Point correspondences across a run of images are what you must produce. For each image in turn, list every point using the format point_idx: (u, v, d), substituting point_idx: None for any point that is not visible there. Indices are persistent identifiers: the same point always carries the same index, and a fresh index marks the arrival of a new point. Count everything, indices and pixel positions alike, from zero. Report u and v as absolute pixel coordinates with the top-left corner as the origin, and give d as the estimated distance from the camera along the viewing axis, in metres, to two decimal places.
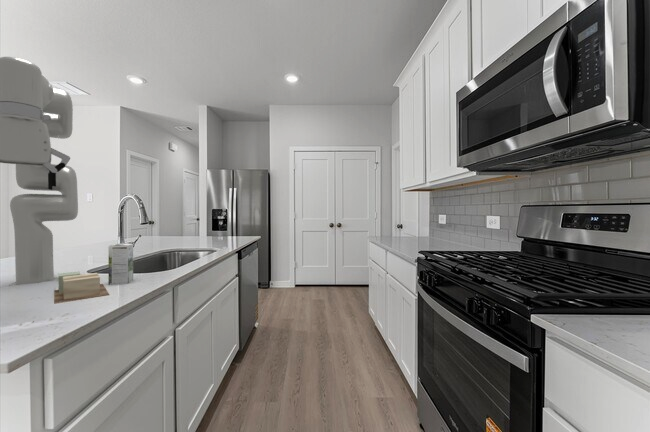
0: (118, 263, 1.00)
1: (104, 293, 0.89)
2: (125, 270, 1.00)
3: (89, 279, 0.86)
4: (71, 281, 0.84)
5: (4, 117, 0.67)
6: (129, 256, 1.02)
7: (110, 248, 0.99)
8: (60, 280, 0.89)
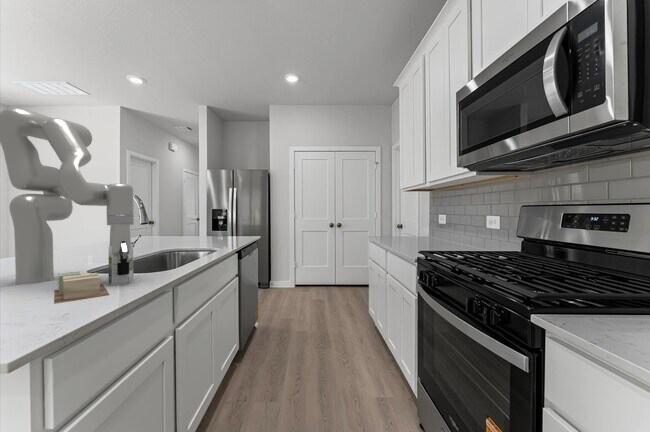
0: None
1: (104, 293, 0.89)
2: None
3: (89, 279, 0.86)
4: (71, 281, 0.84)
5: None
6: (129, 256, 1.02)
7: (110, 248, 0.99)
8: (60, 280, 0.89)
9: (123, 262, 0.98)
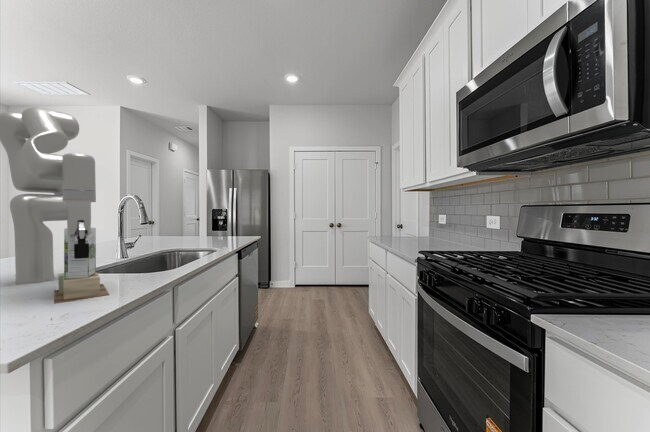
0: None
1: (104, 293, 0.89)
2: None
3: (89, 279, 0.86)
4: (71, 281, 0.84)
5: (90, 202, 0.87)
6: (90, 241, 0.88)
7: (66, 231, 0.85)
8: (60, 280, 0.89)
9: (81, 243, 0.84)
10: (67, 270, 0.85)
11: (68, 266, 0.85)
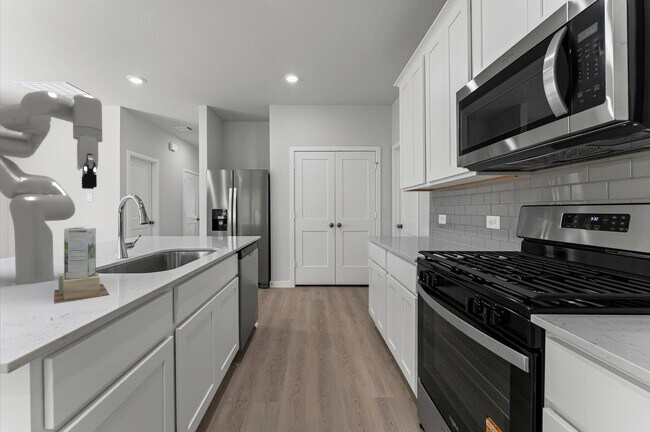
0: (76, 248, 0.86)
1: (104, 293, 0.89)
2: (85, 257, 0.86)
3: (89, 279, 0.86)
4: (71, 281, 0.84)
5: (98, 140, 0.98)
6: (90, 241, 0.88)
7: (66, 231, 0.85)
8: (60, 280, 0.89)
9: (90, 173, 0.94)
10: (67, 270, 0.85)
11: (68, 266, 0.85)
